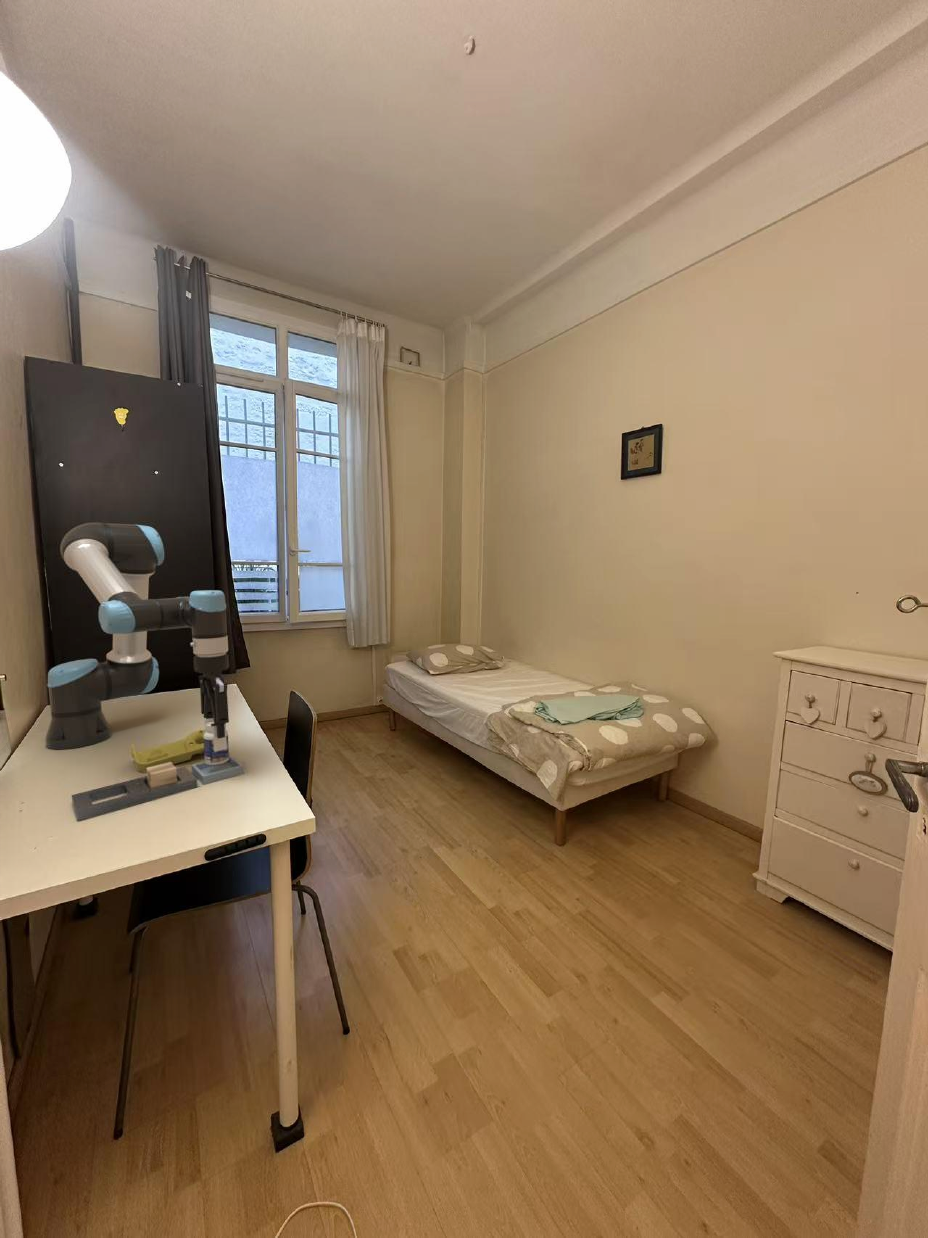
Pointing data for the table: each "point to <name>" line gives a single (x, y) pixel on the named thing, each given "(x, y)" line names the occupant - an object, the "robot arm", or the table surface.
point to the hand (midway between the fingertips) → (216, 746)
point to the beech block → (161, 775)
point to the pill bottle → (209, 752)
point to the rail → (128, 794)
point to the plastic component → (169, 752)
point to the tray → (217, 770)
